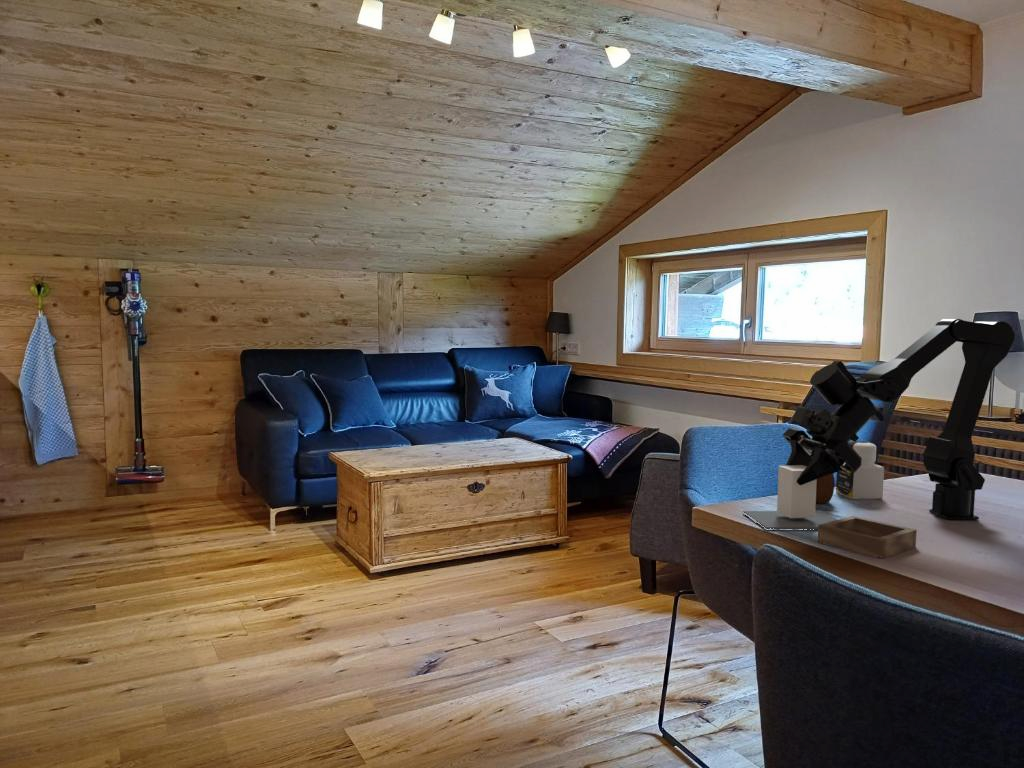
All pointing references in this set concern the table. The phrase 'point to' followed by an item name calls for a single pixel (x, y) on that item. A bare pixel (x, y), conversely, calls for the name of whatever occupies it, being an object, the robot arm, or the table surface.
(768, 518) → the slate mat
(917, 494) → the table surface
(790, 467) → the white block
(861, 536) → the wooden tray
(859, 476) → the medicine bottle
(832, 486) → the wooden figurine
